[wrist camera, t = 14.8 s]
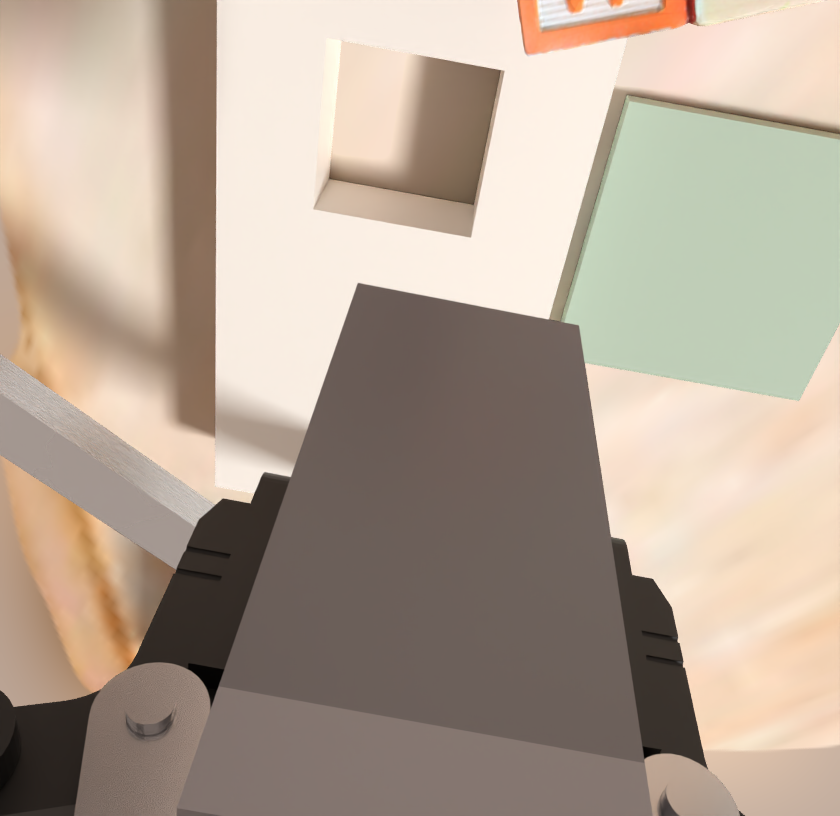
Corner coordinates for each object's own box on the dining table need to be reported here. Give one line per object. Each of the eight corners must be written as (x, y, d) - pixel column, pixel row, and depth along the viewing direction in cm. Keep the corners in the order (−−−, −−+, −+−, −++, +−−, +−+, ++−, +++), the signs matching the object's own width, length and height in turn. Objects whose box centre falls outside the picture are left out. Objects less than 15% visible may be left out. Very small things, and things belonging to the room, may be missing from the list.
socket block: (245, -80, 25) (113, -40, 17) (624, -10, 25) (682, 65, 17) (234, 444, 37) (154, 619, 29) (489, 488, 37) (484, 676, 29)
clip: (378, 612, 27) (373, 641, 26) (328, 644, 28) (322, 672, 27) (-72, 293, 21) (-99, 315, 20) (-110, 350, 23) (-138, 373, 22)
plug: (358, 283, 15) (175, 808, 7) (578, 325, 15) (665, 894, 7) (334, 456, 17) (179, 997, 9) (525, 491, 17) (540, 1059, 9)
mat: (626, 95, 27) (629, 101, 26) (917, 148, 27) (928, 155, 26) (553, 347, 33) (554, 357, 32) (793, 389, 33) (799, 401, 32)
